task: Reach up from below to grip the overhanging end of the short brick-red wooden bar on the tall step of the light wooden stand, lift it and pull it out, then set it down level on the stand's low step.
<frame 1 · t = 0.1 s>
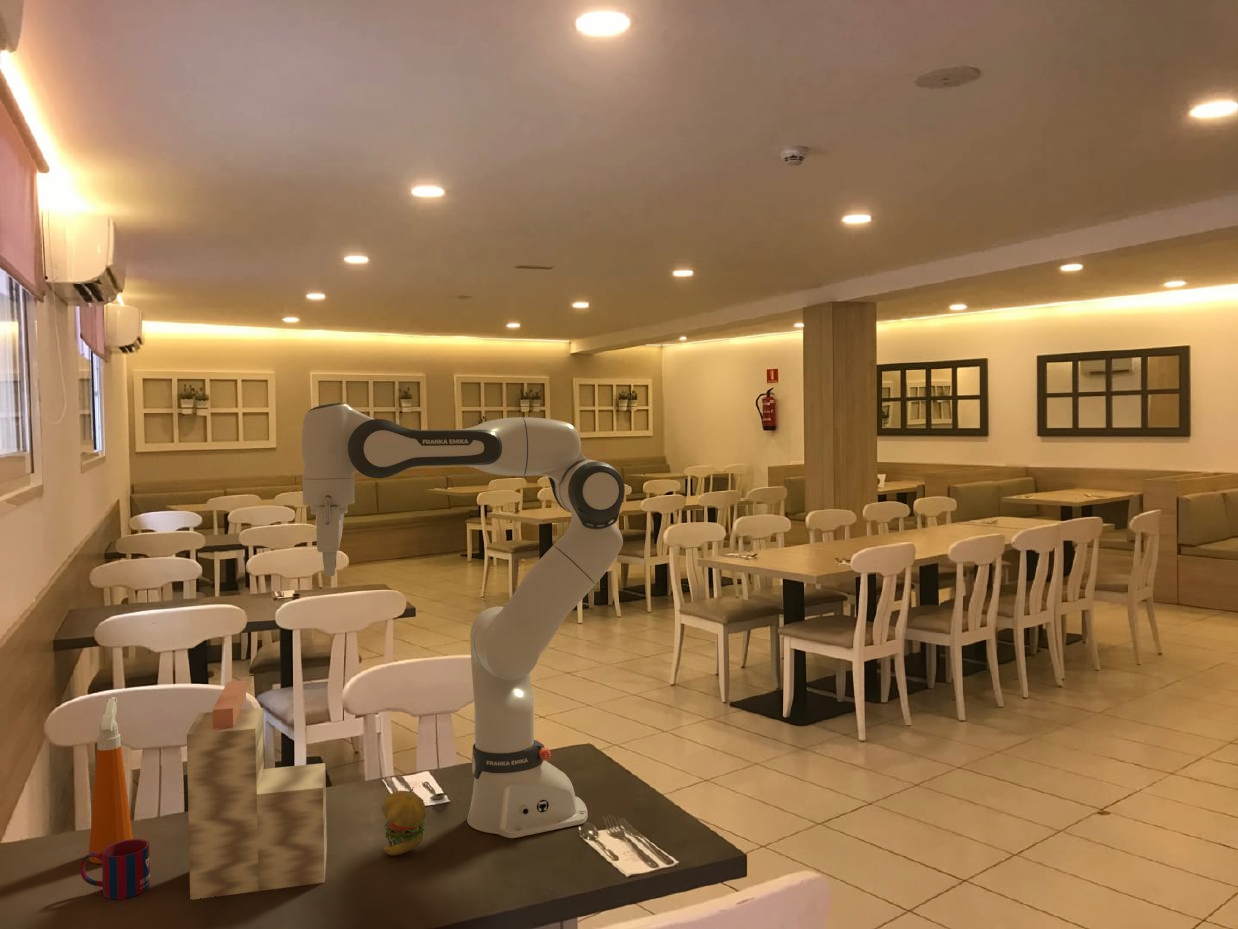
hand: (330, 572, 168), 48 cm above the table, tool pointing down, fingers open, 8 cm apart
bar: (230, 712, 158), point 26 cm above the table, touching stepped stand
stepped stand: (262, 874, 155), on the table
spray bottle: (113, 852, 165), on the table
mug: (116, 891, 150), on the table
hamburger: (404, 855, 162), on the table
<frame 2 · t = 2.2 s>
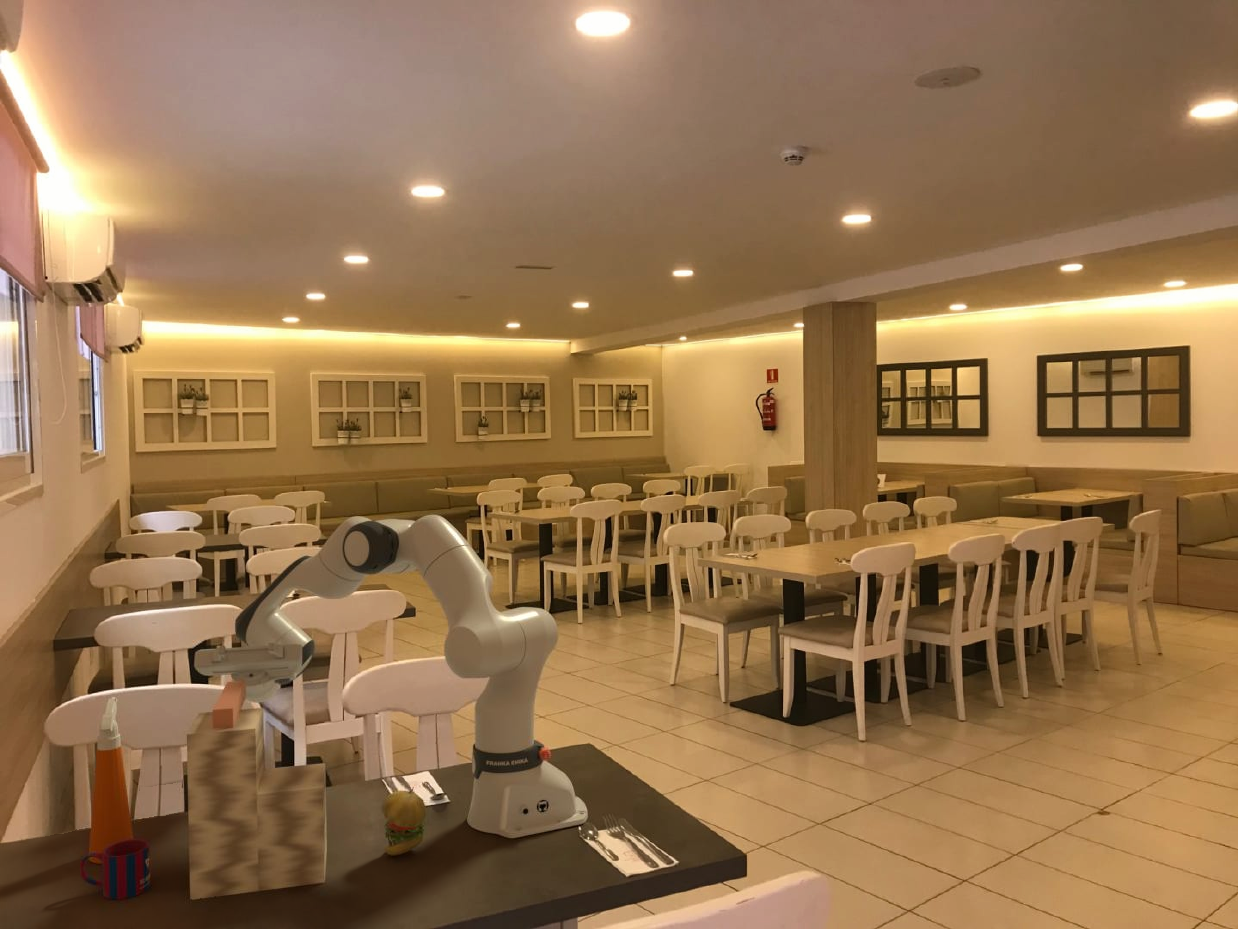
hand: (246, 648, 184), 31 cm above the table, tool pointing upward, fingers open, 8 cm apart
nothing on the table moved.
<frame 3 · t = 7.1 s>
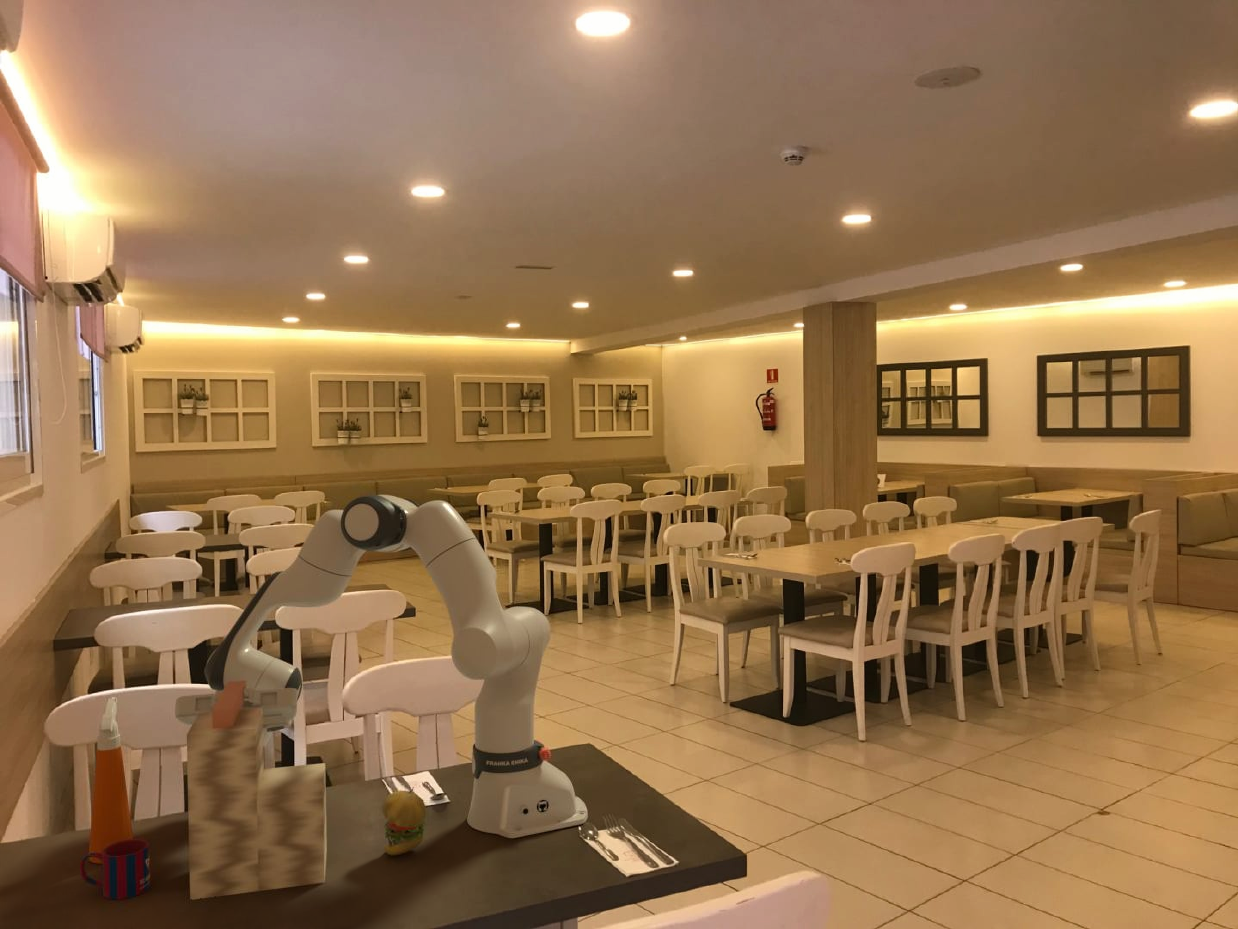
hand: (233, 694, 162), 28 cm above the table, tool pointing upward, fingers closed on bar, 3 cm apart
bar: (230, 712, 158), point 26 cm above the table, touching gripper, stepped stand
everything else where it was.
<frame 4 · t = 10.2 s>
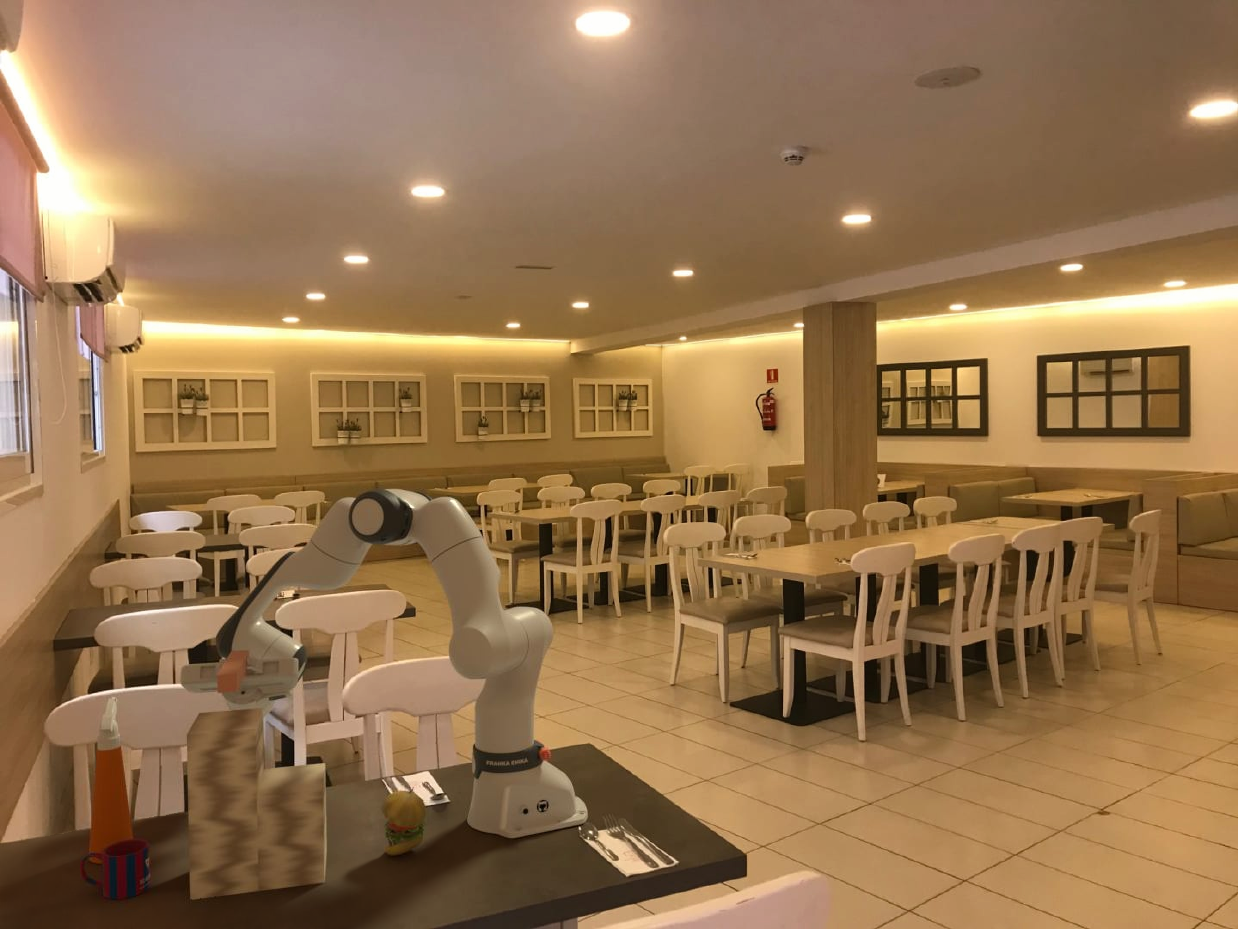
hand: (237, 662, 168), 32 cm above the table, tool pointing upward, fingers closed on bar, 3 cm apart
bar: (234, 678, 164), point 30 cm above the table, touching gripper
everything else where it was.
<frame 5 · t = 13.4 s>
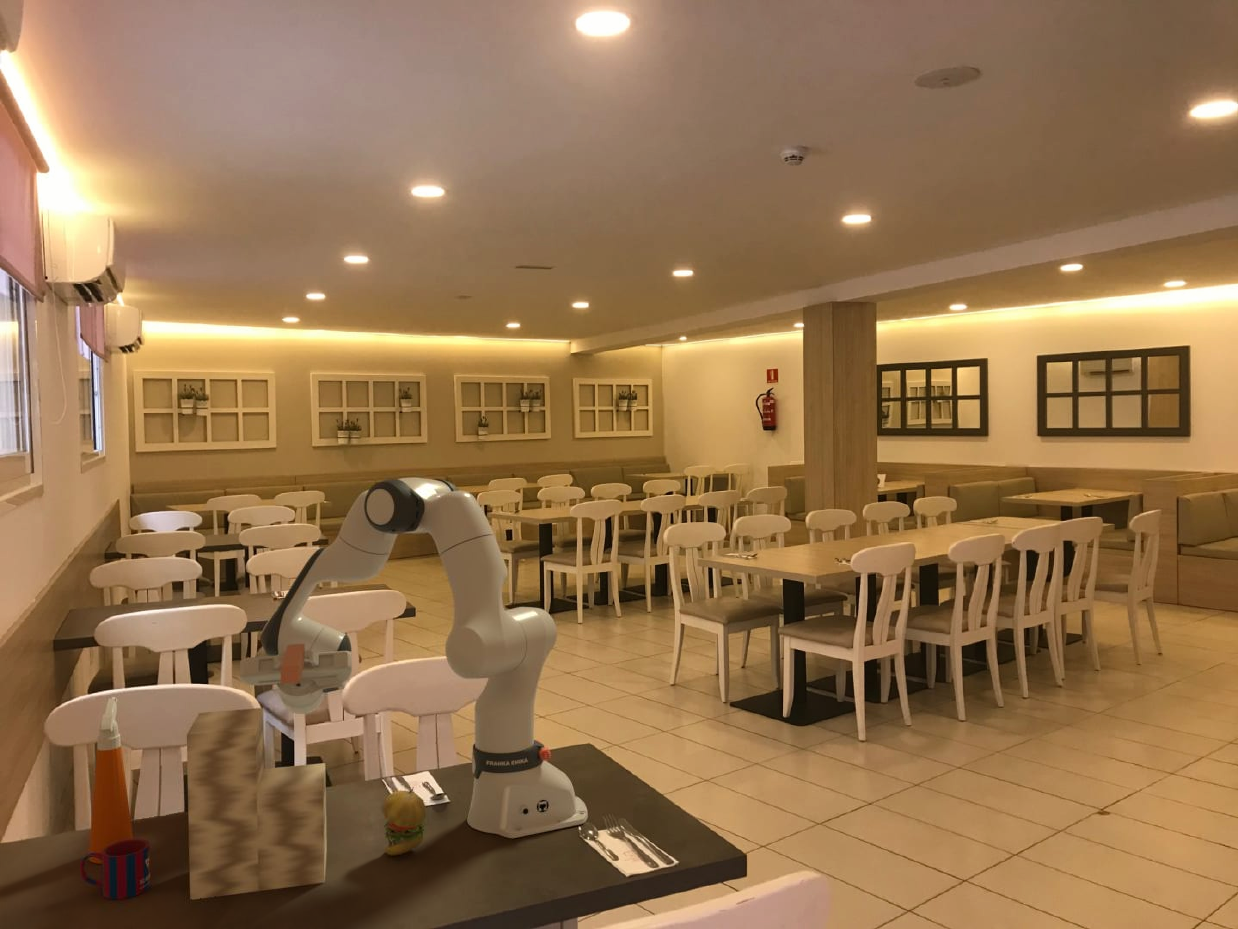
hand: (294, 655, 174), 32 cm above the table, tool pointing upward, fingers closed on bar, 3 cm apart
bar: (293, 670, 170), point 30 cm above the table, touching gripper
everything else where it was.
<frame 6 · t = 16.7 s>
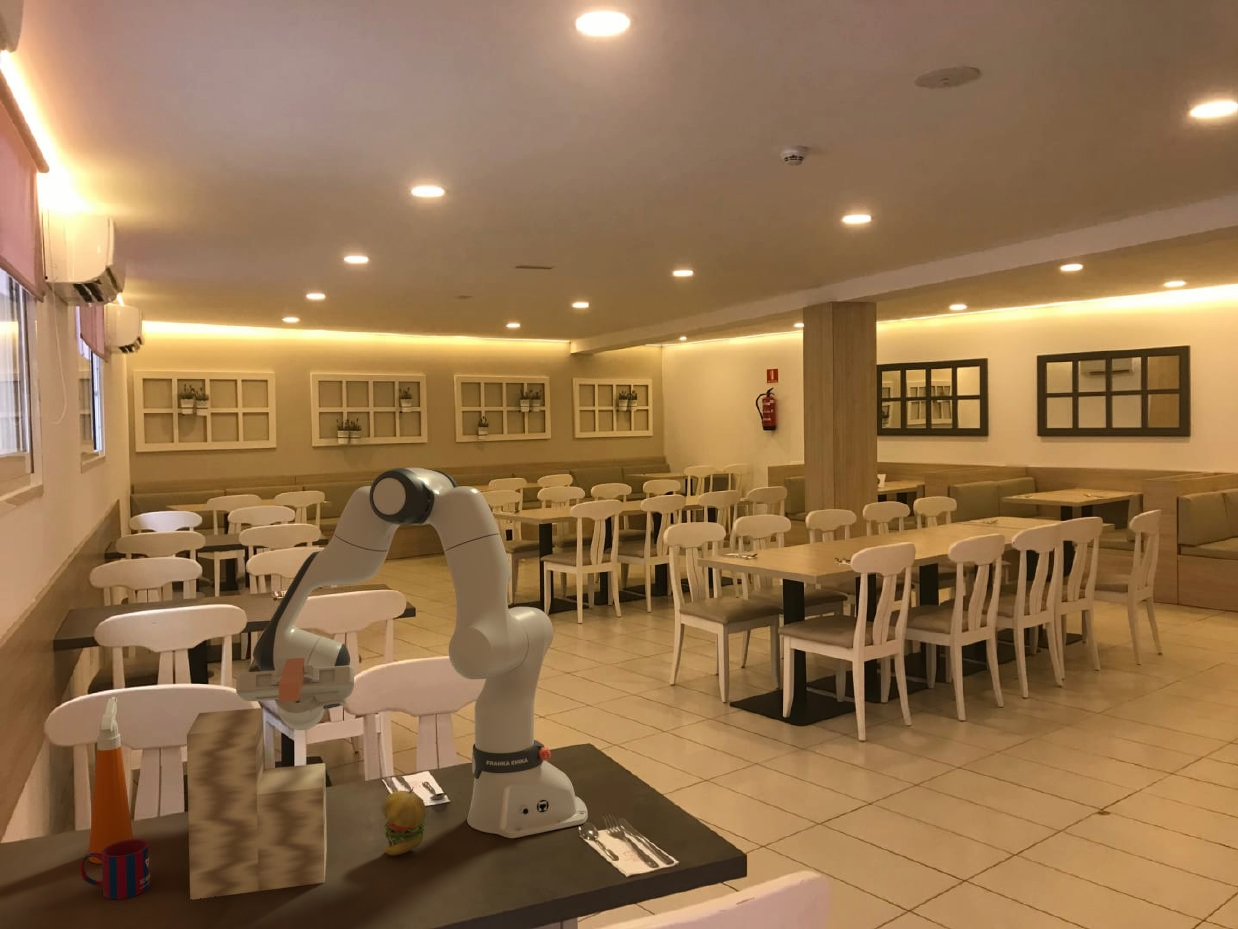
hand: (294, 670, 165), 31 cm above the table, tool pointing upward, fingers closed on bar, 3 cm apart
bar: (292, 687, 161), point 29 cm above the table, touching gripper
everything else where it was.
when the fingers open (18 cm above the table, at t = 19.8 s): bar stays where it is, resting on stepped stand.
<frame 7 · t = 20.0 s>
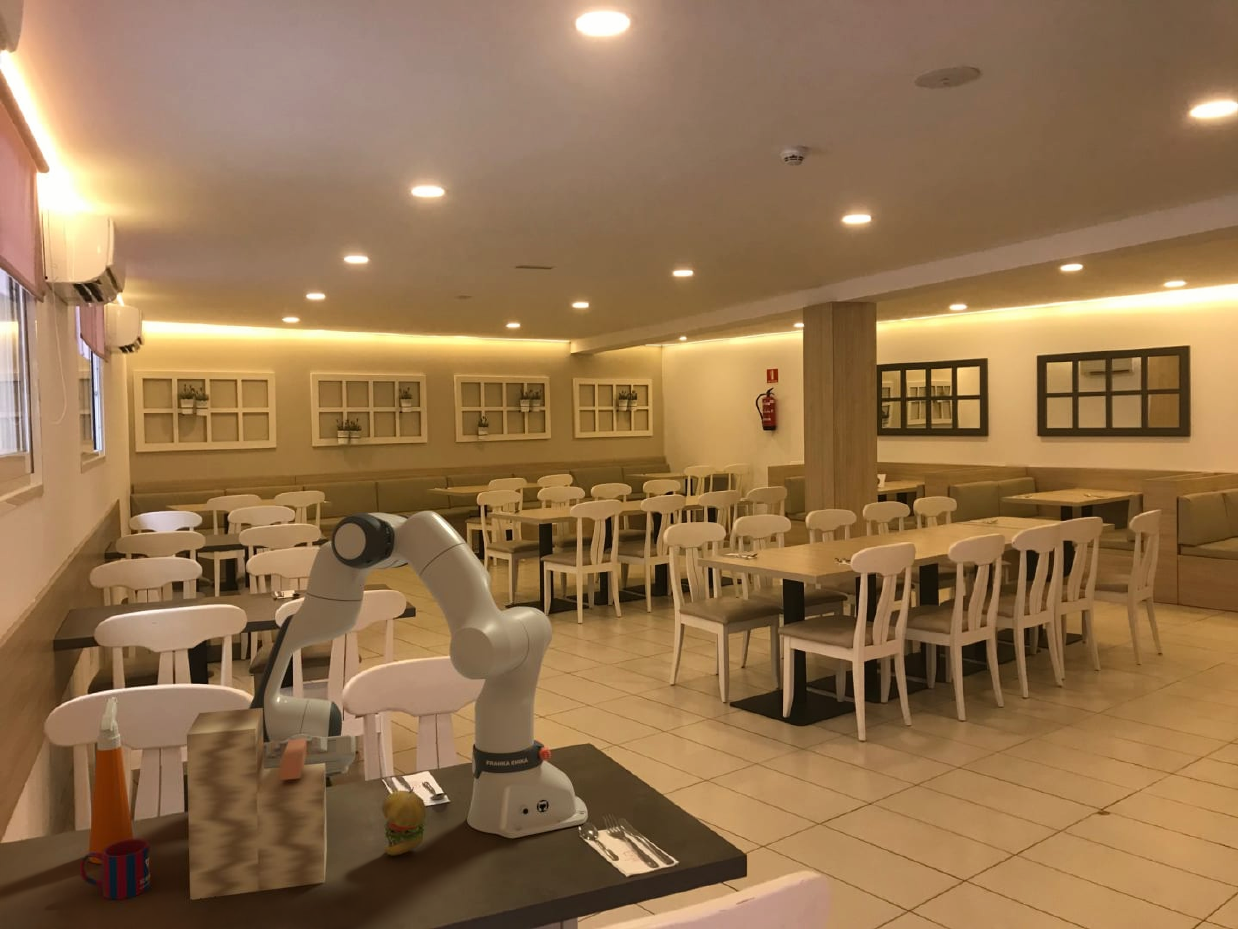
hand: (295, 743, 165), 18 cm above the table, tool pointing upward, fingers open, 5 cm apart
bar: (294, 767, 161), point 16 cm above the table, tilted 7°, touching stepped stand
everything else where it was.
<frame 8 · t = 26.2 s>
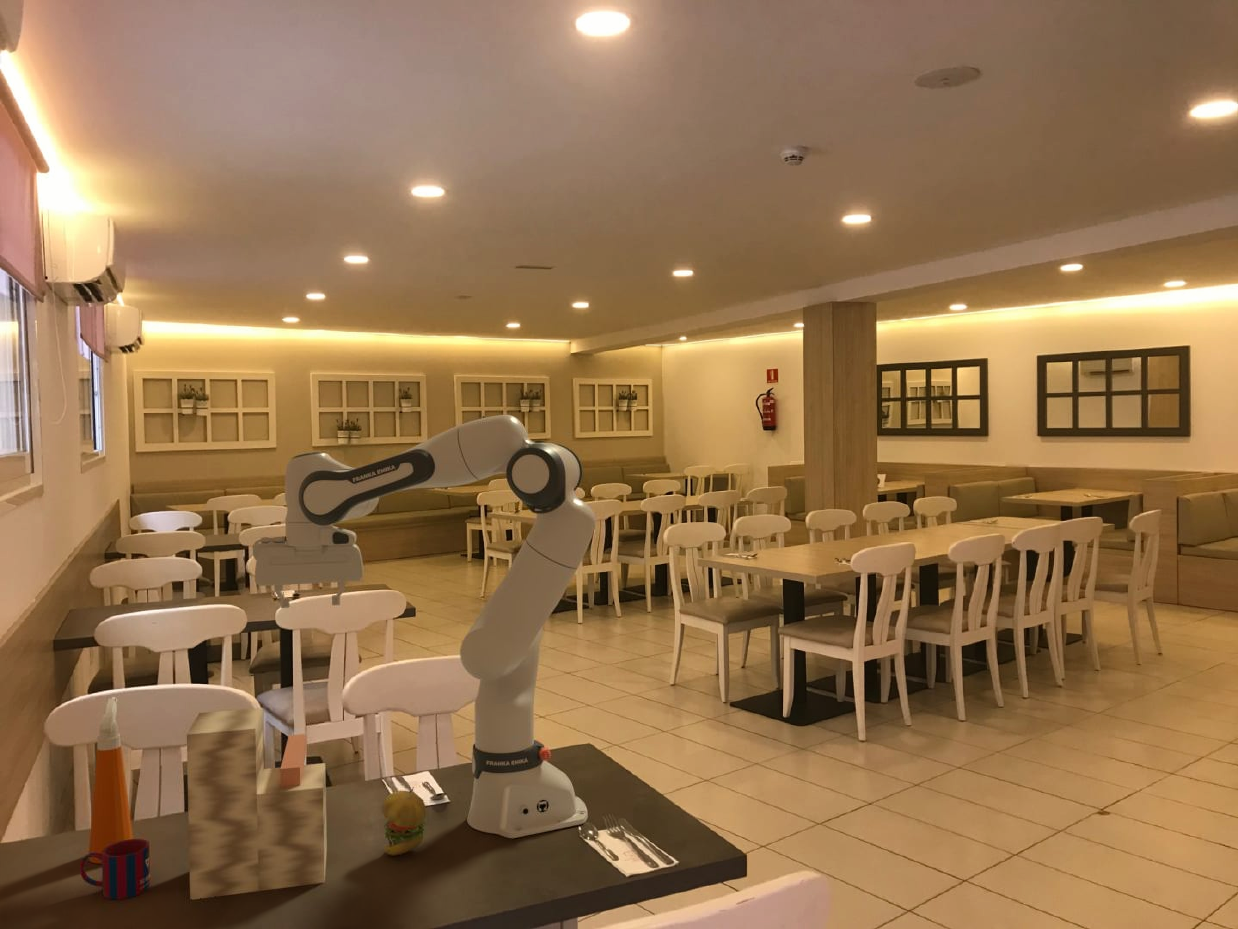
hand: (310, 606, 184), 39 cm above the table, tool pointing down, fingers open, 8 cm apart
bar: (294, 768, 161), point 15 cm above the table, touching stepped stand
everything else where it was.
at the end: bar inside the target area on the stepped stand (0.0 cm from its centre), point 15.5 cm above the stepped stand's base; bar tilted 0°; the gripper is holding nothing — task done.
